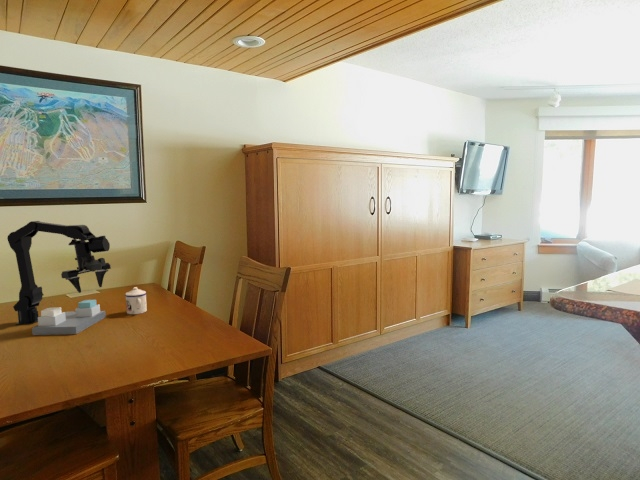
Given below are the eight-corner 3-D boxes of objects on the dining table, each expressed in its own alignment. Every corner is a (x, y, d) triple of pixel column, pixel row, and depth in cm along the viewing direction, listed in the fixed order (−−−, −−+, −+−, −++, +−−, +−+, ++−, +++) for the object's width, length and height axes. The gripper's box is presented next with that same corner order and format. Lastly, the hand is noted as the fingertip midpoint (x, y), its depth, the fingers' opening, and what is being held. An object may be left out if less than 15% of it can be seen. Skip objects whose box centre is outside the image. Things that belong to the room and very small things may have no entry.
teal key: (78, 309, 178) (78, 302, 178) (85, 306, 183) (84, 300, 182) (90, 309, 178) (90, 302, 178) (96, 306, 183) (96, 299, 183)
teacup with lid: (124, 311, 195) (122, 287, 194) (144, 308, 201) (143, 284, 199) (129, 317, 186) (128, 291, 184) (151, 313, 191) (149, 288, 190)
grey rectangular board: (32, 335, 163) (31, 318, 163) (67, 318, 186) (66, 303, 186) (76, 334, 164) (75, 317, 163) (105, 317, 186) (104, 303, 186)
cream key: (41, 318, 166) (40, 310, 165) (49, 314, 171) (48, 307, 170) (54, 318, 166) (53, 310, 166) (61, 314, 171) (61, 307, 171)
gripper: (72, 257, 166) (79, 295, 168) (115, 249, 182) (121, 284, 184) (57, 258, 172) (64, 295, 174) (100, 250, 188) (106, 284, 190)
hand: (90, 289), depth 180 cm, fingers open, 9 cm apart
